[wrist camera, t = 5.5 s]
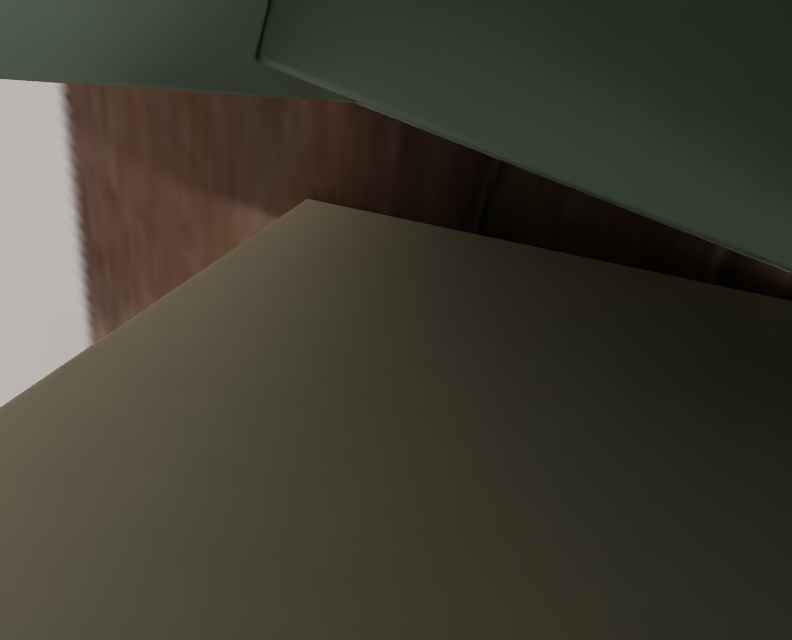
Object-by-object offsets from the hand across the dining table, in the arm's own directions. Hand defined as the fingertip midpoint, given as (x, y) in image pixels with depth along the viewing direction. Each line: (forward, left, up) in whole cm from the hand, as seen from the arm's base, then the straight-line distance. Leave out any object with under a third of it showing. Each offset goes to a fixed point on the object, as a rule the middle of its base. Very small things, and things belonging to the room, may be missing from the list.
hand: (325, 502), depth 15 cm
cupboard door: (-3, -6, -5) cm, 9 cm away
